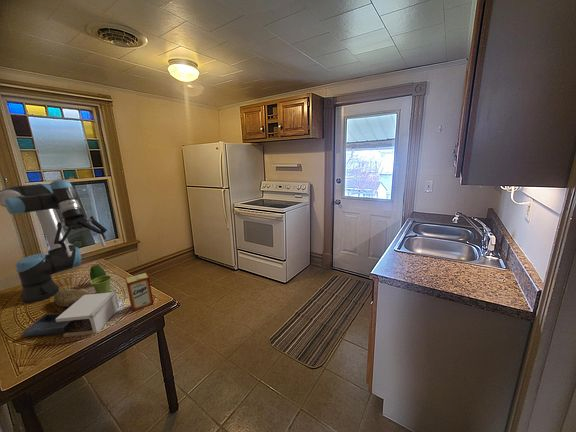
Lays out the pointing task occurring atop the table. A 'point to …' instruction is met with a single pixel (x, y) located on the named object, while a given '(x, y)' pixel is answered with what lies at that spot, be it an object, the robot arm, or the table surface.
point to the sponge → (68, 297)
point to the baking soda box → (139, 291)
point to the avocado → (96, 272)
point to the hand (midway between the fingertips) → (88, 250)
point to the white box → (91, 311)
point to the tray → (48, 326)
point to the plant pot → (102, 284)
